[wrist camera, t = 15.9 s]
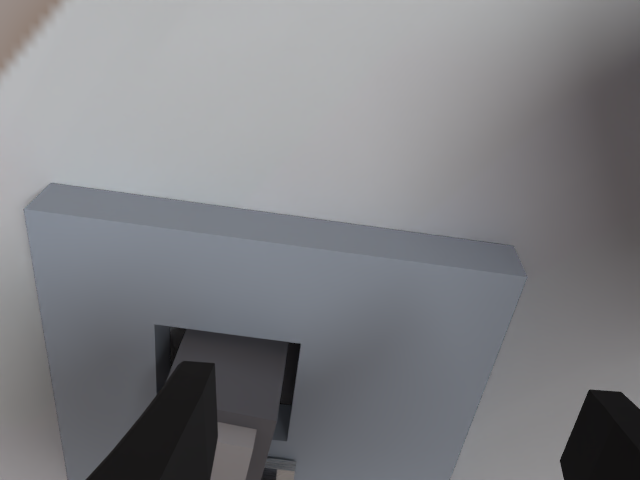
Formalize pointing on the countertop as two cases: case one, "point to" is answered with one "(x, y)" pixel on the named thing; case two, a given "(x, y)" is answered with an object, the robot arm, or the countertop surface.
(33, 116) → the countertop surface
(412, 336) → the socket panel
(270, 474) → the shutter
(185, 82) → the countertop surface
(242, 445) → the plug
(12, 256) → the countertop surface
